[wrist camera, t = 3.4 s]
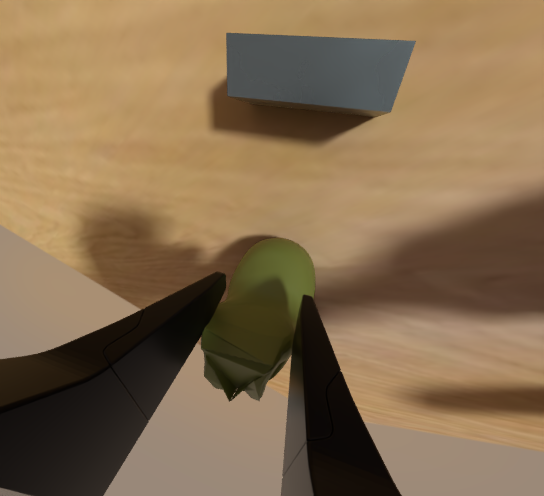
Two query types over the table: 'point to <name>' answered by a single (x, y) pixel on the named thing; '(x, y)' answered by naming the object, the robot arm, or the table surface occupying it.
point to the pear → (257, 318)
